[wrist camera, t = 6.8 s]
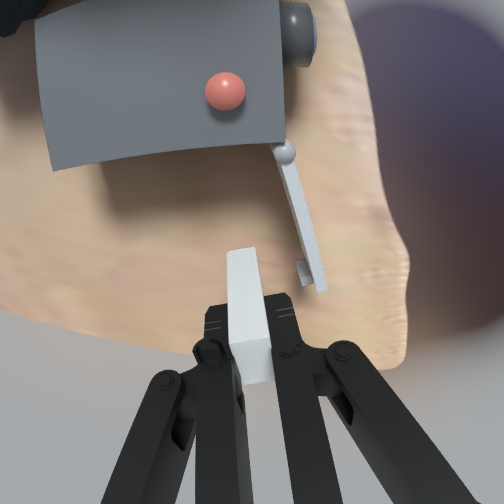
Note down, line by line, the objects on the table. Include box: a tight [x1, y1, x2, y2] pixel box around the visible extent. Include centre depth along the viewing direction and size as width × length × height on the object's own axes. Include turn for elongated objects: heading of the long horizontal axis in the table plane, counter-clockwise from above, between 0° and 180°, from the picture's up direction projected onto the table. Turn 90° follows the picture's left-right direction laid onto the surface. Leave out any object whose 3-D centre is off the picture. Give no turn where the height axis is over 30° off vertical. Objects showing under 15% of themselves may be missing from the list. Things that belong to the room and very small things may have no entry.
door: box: [268, 137, 328, 293], centre depth 23 cm, size 11×2×6 cm, turn 18°
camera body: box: [35, 0, 317, 171], centre depth 17 cm, size 16×10×8 cm, turn 93°
